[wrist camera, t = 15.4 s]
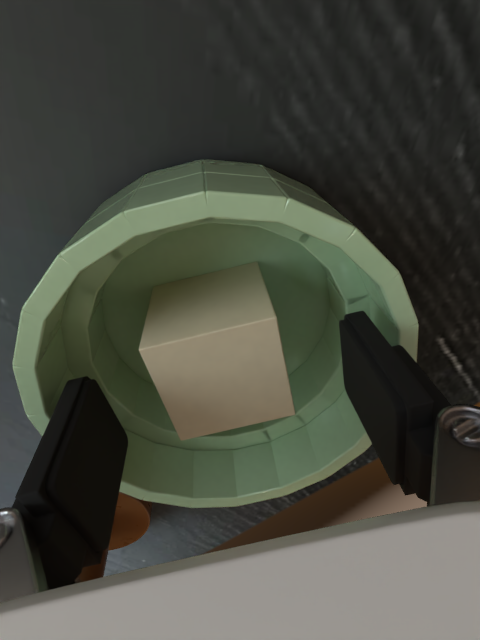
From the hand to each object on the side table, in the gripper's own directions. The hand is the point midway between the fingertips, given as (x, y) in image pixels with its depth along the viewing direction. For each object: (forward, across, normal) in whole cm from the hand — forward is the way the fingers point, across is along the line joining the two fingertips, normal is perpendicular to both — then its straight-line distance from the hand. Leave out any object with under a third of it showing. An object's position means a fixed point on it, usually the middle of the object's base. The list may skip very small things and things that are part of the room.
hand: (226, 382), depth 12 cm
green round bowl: (+4, 0, 0) cm, 4 cm away
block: (+4, 0, 0) cm, 4 cm away
